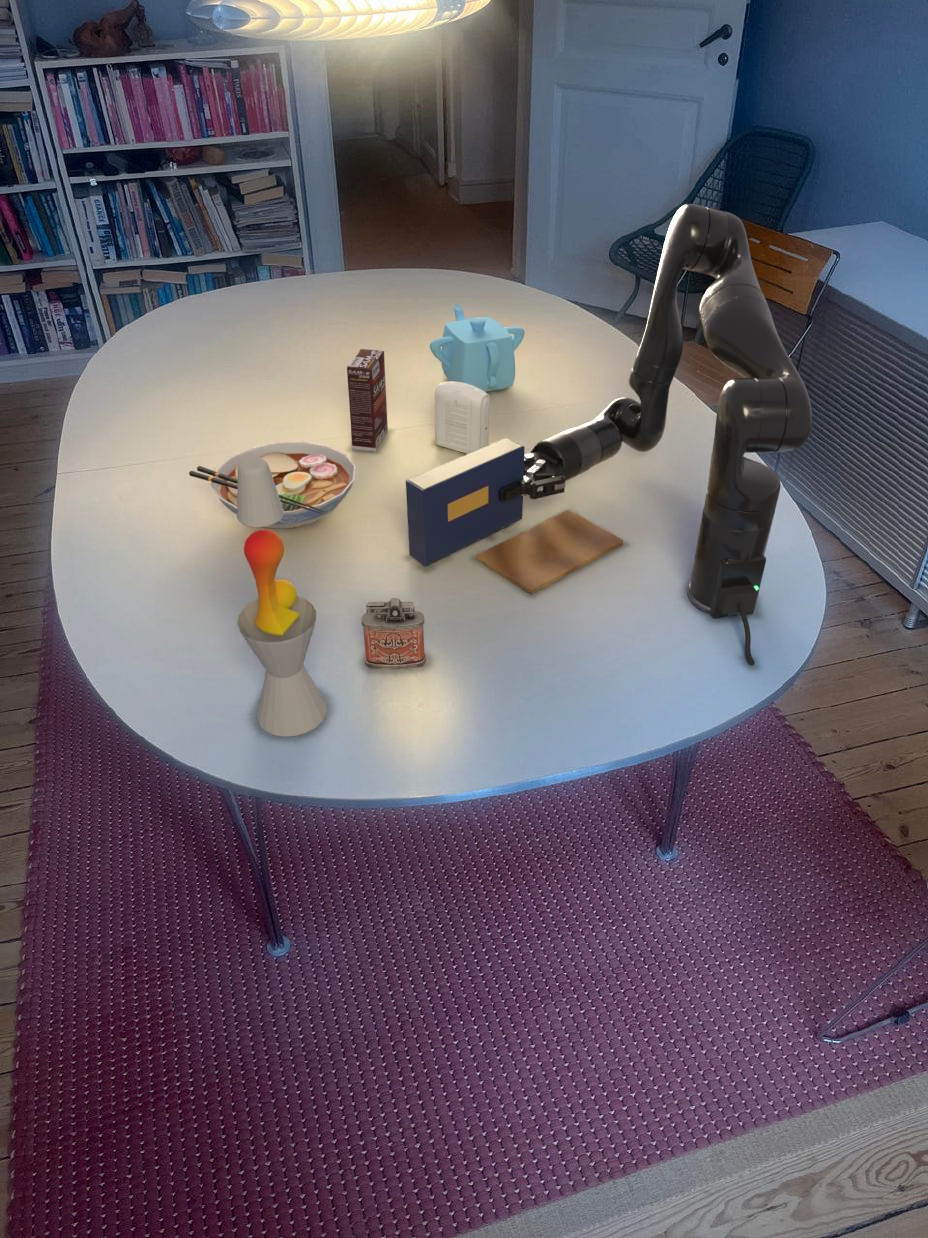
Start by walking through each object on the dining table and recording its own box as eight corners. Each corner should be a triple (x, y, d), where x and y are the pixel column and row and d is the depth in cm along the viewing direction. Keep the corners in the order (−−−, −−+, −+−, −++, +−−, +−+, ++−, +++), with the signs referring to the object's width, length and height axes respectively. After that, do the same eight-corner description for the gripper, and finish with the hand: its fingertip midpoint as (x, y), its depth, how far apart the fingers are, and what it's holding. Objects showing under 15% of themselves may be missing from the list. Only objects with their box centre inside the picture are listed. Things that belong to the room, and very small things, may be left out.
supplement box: (377, 452, 172) (371, 369, 162) (351, 450, 173) (344, 367, 163) (389, 431, 178) (385, 349, 169) (364, 428, 179) (359, 347, 169)
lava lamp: (306, 745, 114) (268, 492, 92) (241, 726, 117) (189, 475, 95) (340, 698, 121) (312, 450, 99) (278, 680, 123) (238, 436, 102)
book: (505, 508, 155) (506, 436, 147) (522, 518, 153) (525, 445, 145) (409, 555, 145) (405, 479, 137) (426, 566, 142) (423, 490, 134)
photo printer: (492, 449, 173) (493, 385, 165) (481, 459, 170) (481, 394, 162) (443, 436, 177) (442, 373, 169) (431, 445, 174) (430, 382, 166)
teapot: (531, 377, 197) (534, 313, 189) (495, 408, 186) (496, 341, 178) (455, 360, 204) (455, 298, 196) (415, 388, 193) (413, 323, 185)
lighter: (425, 653, 128) (423, 593, 121) (425, 669, 125) (423, 609, 119) (365, 654, 127) (360, 594, 121) (364, 671, 125) (359, 610, 119)
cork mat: (567, 513, 155) (568, 509, 155) (623, 544, 148) (623, 540, 148) (476, 559, 145) (476, 555, 145) (531, 594, 138) (531, 590, 137)
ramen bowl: (392, 502, 158) (389, 459, 153) (306, 571, 143) (301, 525, 138) (274, 465, 168) (268, 423, 163) (183, 526, 153) (173, 481, 148)
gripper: (537, 419, 158) (459, 452, 149) (601, 449, 149) (522, 486, 141) (535, 459, 162) (460, 493, 154) (597, 491, 154) (520, 529, 145)
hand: (490, 490), depth 147 cm, fingers closed on book, 4 cm apart
